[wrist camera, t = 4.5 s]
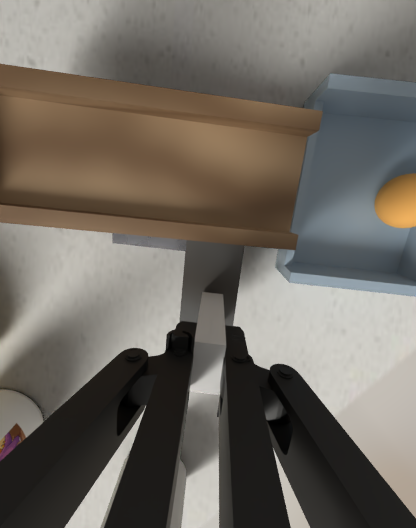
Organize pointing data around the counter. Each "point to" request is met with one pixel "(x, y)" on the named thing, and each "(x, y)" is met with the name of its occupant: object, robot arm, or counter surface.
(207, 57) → the counter surface
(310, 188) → the box
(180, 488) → the can
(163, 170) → the seesaw chute
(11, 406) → the milk bottle
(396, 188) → the ball
